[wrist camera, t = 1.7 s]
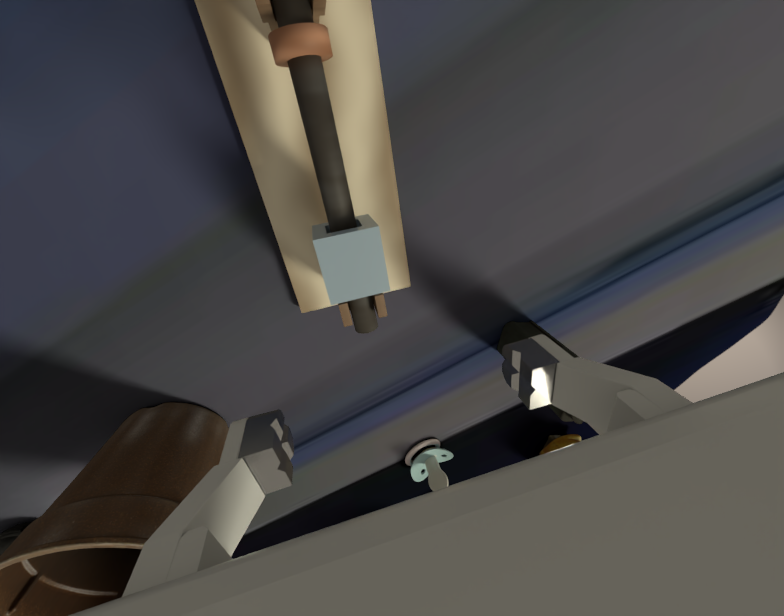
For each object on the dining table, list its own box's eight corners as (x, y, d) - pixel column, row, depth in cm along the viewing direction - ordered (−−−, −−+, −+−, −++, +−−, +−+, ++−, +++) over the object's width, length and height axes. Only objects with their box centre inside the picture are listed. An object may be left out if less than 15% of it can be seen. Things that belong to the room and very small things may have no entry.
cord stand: (361, -38, 23) (392, -146, 14) (407, 282, 36) (438, 324, 27) (190, -20, 21) (112, -129, 13) (302, 308, 34) (299, 361, 25)
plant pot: (83, 476, 37) (-54, 673, 23) (106, 370, 32) (-50, 541, 18) (229, 489, 44) (190, 650, 30) (267, 403, 39) (243, 548, 25)
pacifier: (395, 456, 49) (418, 472, 52) (405, 494, 43) (429, 509, 46) (431, 429, 48) (452, 446, 51) (446, 464, 43) (468, 481, 45)
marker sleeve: (368, 213, 26) (378, 226, 22) (378, 270, 28) (390, 290, 24) (311, 225, 25) (312, 240, 21) (327, 282, 27) (331, 305, 23)
